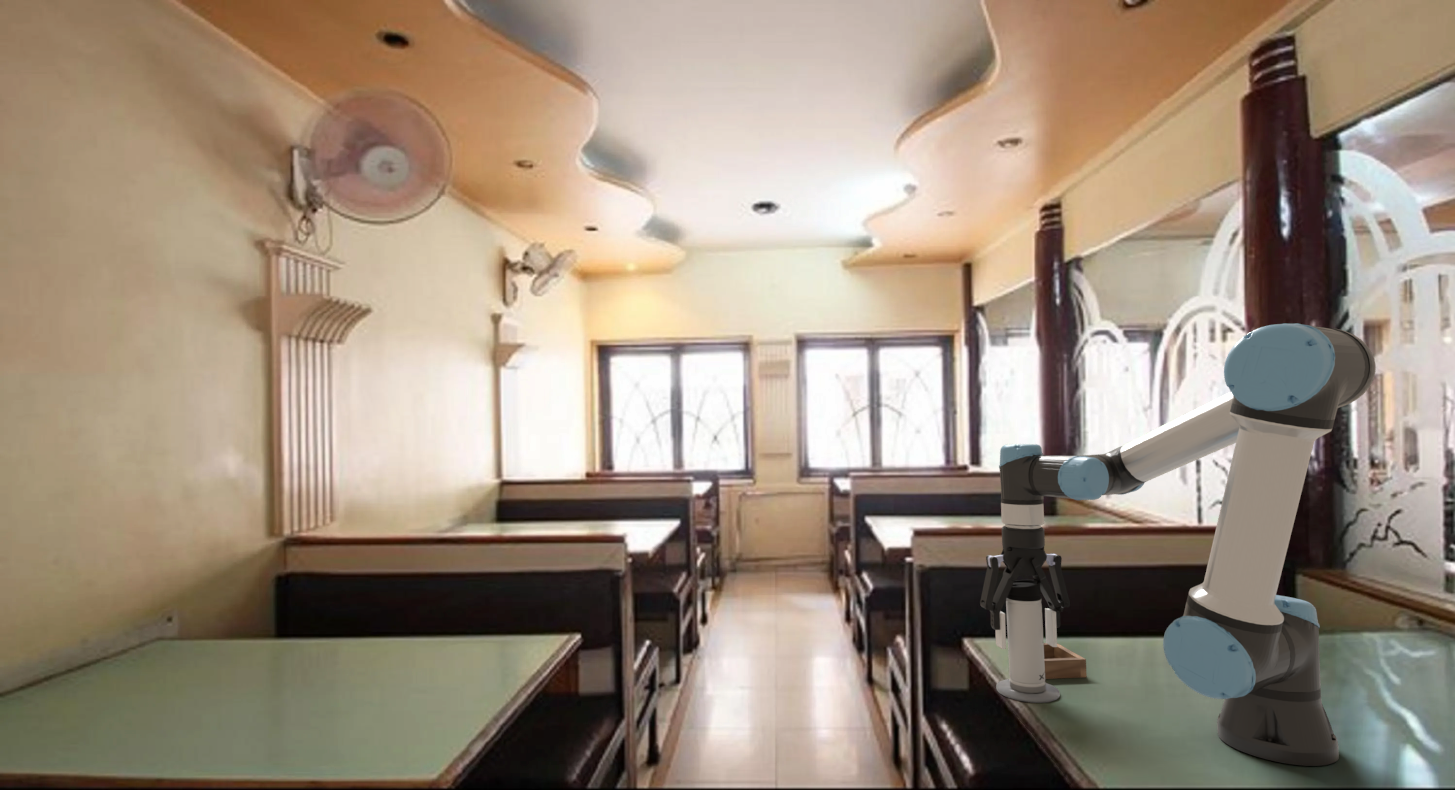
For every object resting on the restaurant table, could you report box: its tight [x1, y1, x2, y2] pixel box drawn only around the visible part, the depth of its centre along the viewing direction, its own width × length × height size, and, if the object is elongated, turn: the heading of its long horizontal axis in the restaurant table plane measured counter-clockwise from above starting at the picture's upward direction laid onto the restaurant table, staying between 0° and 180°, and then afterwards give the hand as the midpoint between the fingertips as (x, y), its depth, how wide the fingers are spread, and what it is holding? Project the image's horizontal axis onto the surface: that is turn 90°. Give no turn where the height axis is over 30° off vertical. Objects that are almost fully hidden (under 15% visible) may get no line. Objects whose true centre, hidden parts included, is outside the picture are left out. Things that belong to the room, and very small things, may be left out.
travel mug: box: [1005, 578, 1047, 693], centre depth 139 cm, size 6×7×20 cm
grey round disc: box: [995, 678, 1061, 704], centre depth 139 cm, size 11×11×1 cm
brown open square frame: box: [1044, 642, 1088, 680], centre depth 151 cm, size 11×10×4 cm
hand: (1026, 645), depth 139 cm, fingers open, 9 cm apart
